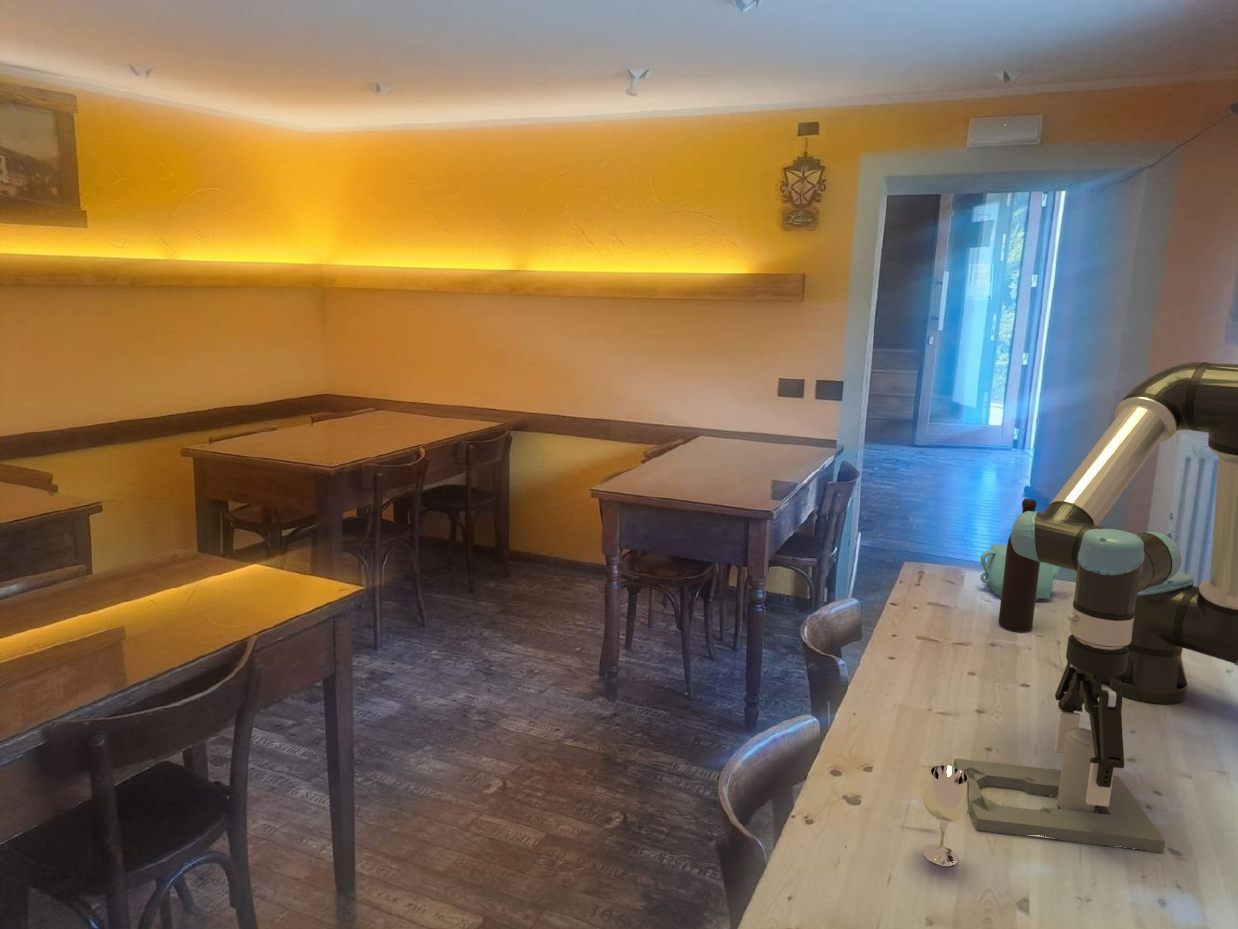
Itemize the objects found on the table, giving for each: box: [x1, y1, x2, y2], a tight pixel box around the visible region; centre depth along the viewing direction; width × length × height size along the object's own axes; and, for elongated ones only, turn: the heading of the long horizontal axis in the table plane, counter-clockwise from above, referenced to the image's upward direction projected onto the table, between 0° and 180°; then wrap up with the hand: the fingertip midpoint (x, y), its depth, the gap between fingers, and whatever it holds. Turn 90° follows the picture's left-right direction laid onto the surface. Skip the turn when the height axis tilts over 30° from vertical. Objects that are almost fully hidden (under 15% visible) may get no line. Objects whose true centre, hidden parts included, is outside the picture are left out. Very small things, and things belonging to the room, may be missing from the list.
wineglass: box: [922, 764, 970, 866], centre depth 111 cm, size 6×6×12 cm
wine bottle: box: [998, 498, 1040, 633], centre depth 190 cm, size 7×7×30 cm
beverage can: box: [1056, 727, 1096, 813], centre depth 122 cm, size 5×5×12 cm
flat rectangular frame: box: [953, 757, 1166, 854], centre depth 124 cm, size 24×16×2 cm, turn 79°
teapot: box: [979, 544, 1063, 602], centre depth 214 cm, size 18×16×14 cm
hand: (1079, 777), depth 122 cm, fingers open, 13 cm apart
